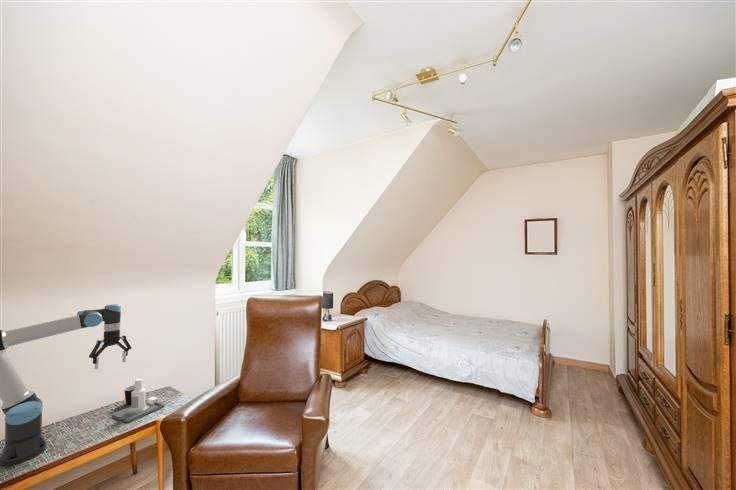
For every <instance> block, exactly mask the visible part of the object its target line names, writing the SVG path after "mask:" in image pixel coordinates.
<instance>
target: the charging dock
mask: <svg viewBox="0 0 736 490" xmlns="http://www.w3.org/2000/svg"><path fill="white" fill-rule="evenodd" d="M164 407H165V404H164V403H161V402H159V397H156V396H151V397H148V398H147V399H145V408H144V409H142V410H139V411H135V412H134V411H132V410H131V405H130V406H129V407H126V408H123V409H121V410H119V411H116V412H113V413H111V415H110V416H112V417H111V418H113V417H114V419H116V418H117V419H116V420H118V419H119V420H118V421H122V422H124V423H127V424H129V423H131V422H134V421H136V420H138V419H140V418H142V416H143V417H145V416H147V415H149V414H151V413H153V412H156V411H158V410H159V409H162V408H164Z"/></svg>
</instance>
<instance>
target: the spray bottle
mask: <svg viewBox="0 0 736 490" xmlns="http://www.w3.org/2000/svg"><path fill="white" fill-rule="evenodd" d="M134 385H135V387H134V391H132V393H131V405H130V406H131V410H132V411H134V412H135V411H139V410H142V409H144V408H145V400H146V388H144V386H143V378H141V377H139V378H136V379H135V380H134Z"/></svg>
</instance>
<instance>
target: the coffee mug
mask: <svg viewBox="0 0 736 490" xmlns="http://www.w3.org/2000/svg"><path fill="white" fill-rule="evenodd" d="M134 387H135V384H134V385H133V384H132V385H131V386H127V387H126V388H124V389H123V391H124V397H125V405H126V406H127V405H130V406H131V393H132V391H134Z"/></svg>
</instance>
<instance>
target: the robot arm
mask: <svg viewBox="0 0 736 490" xmlns="http://www.w3.org/2000/svg"><path fill="white" fill-rule="evenodd" d="M121 306H122V305H120V304H119V303H114V304H106V305H105V306H104V307H103V308H99V309H87V310H86V309H85V310H80V311H79V310H78V311H77V312H76V315H74V316H69V317H65V318H61V319H56V320H51V321H45V322H42V323H38V324H37V323H36V324H33V325H29V326H24V327H18V328H15V329H10V330H9V329H8V330H5V329H0V400H1V401H2V405H1V407H0V409H1V411H2V412H3V414H4V415H5V416H4V423H5V424H4V425H5V427H4V446H3V448H2V450H1V453H0V465H9V466H13V465H12V464H14V465H17V464H21V463H23V462H26V461H29V460H30V459H33V458H35V457H37V456H39V455H41V454H42V453H43V452H45V451H46V449H47V447H48V446H47V441H46V439H45V437H44V435H43V433H42V431H43V427H42V424H43V419H42V418H43V408H44V407H43V406H44V405H43V401H42V400H41V398H39V397H38V396H37V394H36V393H35V391H34V390H28V389H27V387H26V385H25V384H24V382H23V380H22V378H21V377H20V375H19V374H18V372H17V370H16V369H15V366H14V365H13V364H12V362H11V360H10V359H9V357H8V356H7V354H6V353H5V352H6V350H7V349H9V347H11V346H12V347H13V346H15V345H19V344H24V343H28V342H32V341H37V340H39V339H40V340H41V339H44V338H49V337H54V336H57V335H61V334H65V333H69V332H72V331H73V332H74V331H77V330H81V329H85V328H94V327H98V326H99V325H100V324H101V323H103V322H104V323H103V324H104V325H103V330H104V331H103V339H100V340H99V339H97V340H96V342H95V345H94V347H93V349H91V352H90V354H89V356H88V358H90V359H92V364H93V365H94V370H99V359H100V358H99V357H100V355H101V354H102V352H104V350H105V349H106V348H108V347H111V346H116V345H117V346H118V347H120V348H121V349H122V360H121V361H122V363H127V356H128V354H129V353H128V352H129V350H131V349H132V348H133V347H132V346H131V345H130V343H129V341H128V339H127V336H126V335H121V316H122V315H121V313H122V308H121ZM120 335H121V336H120ZM120 340H121V341H122V343H124V345H123V344H122V343H121V342H120ZM102 343H103V344H102ZM100 346H101V347H100Z"/></svg>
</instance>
